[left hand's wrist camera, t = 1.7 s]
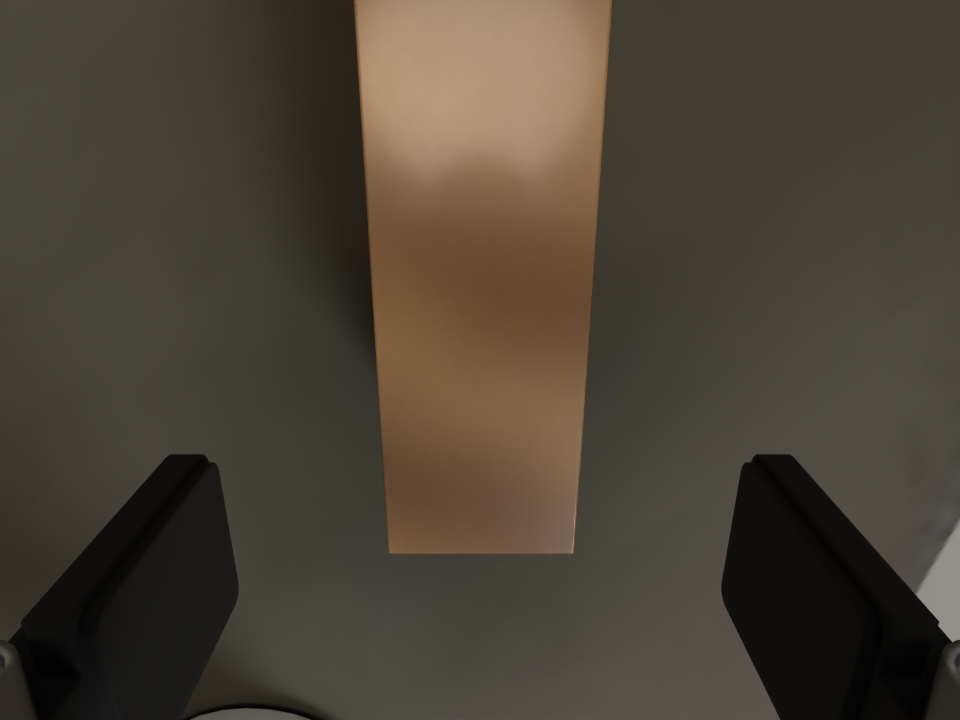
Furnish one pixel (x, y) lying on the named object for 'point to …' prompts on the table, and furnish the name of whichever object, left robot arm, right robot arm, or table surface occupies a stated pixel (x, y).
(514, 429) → the bar
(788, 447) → the table surface
